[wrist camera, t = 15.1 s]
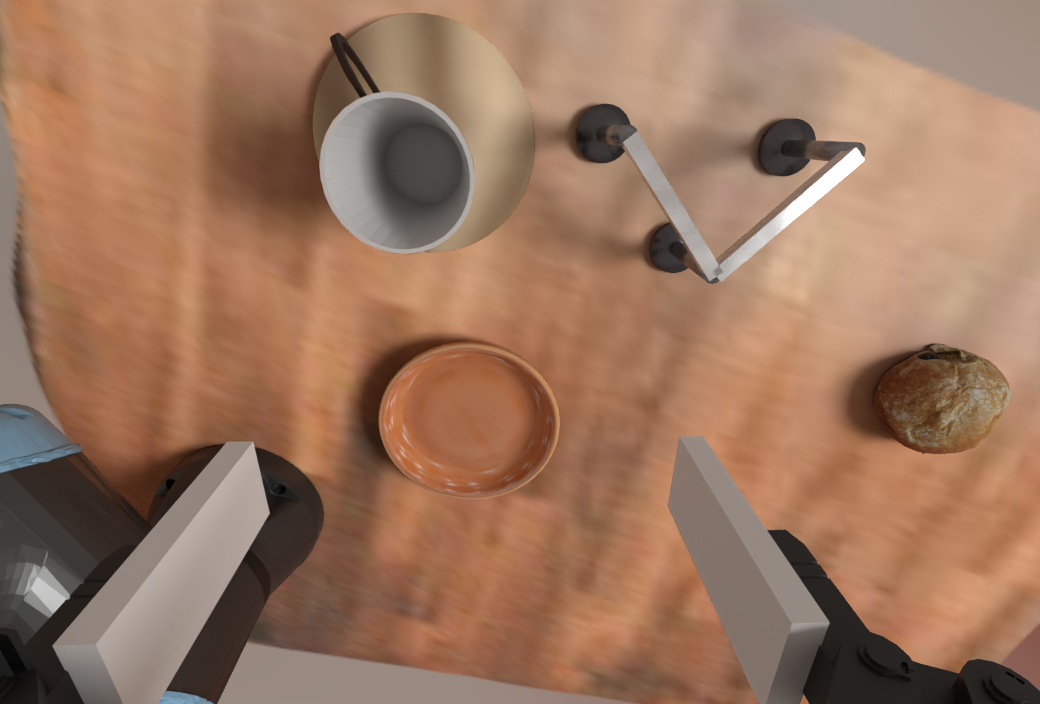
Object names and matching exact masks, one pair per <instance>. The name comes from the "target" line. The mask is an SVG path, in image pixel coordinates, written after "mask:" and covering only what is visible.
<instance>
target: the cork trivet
mask: <svg viewBox="0 0 1040 704" xmlns="http://www.w3.org/2000/svg"><path fill="white" fill-rule="evenodd" d="M347 42H348V43H349V45H350V46H351V47H352V49H353V50H354V52H355V53H356V55H357V56H358V58H359V59H360V61H361V62H362V64H363V65H364V67H365V68H366V70H367V71H368V73H369V75H370V76H371V78H372V79H373V81H374V82H375V84H376V86H377V87H378V89H379V91H380V92H386V91H391V92H404V93H407V94H411V95H414V96H417V97H420V98H422V99H424V100H426V101H428V102H430V103H432V104H433V105H435V106H436V107H438V108H439V109H440V110H441V111H442V112H444V113H445V114H446V115H447V116H448V117H449V118H450V119H451V120H452V121H453V123H454V124H455V125H456V126H457V127H458V128H459V130H460V132H461V134H462V135H463V137H464V139H465V141H466V142H467V144H468V147H469V150H470V153H471V156H472V159H473V164H474V171H475V192H474V196H473V201H472V205H471V208H470V210H469V212H468V214H467V217H466V219H465V220H464V222H463V223H462V225H461V226H460V227H459V229H458V230H457V231H456V232H455V233H454V234H453V235H452V236H451V237H450V238H449V239H448V240H447V241H445V242H443V243H442V244H440V245H438V246H437V247H435V248H432V249H429V250H427V251H424V252H445V251H452V250H456V249H460V248H463V247H466V246H469V245H471V244H473V243H476V242H478V241H479V240H481V239H483V238H484V237H486V236H488V235H489V234H491V233H492V232H493V231H494V230H496V229H497V228H498V227H499V226H500V225H501V224H502V223H503V222H504V221H505V220H506V219H507V218H508V217H509V216H510V214H511V213H512V212H513V210H514V209H515V208H516V206H517V204H518V203H519V201H520V199H521V197H522V195H523V194H524V191H525V189H526V186H527V184H528V181H529V178H530V174H531V170H532V167H533V159H534V152H535V133H534V123H533V117H532V113H531V109H530V104H529V102H528V99H527V96H526V93H525V91H524V88H523V86H522V84H521V82H520V80H519V78H518V76H517V74H516V73H515V71H514V70H513V68H512V67H511V65H510V64H509V63H508V61H507V60H506V59H505V58H504V56H503V55H502V54H501V53H500V52H499V51H498V50H497V48H496V47H494V46H493V45H492V44H491V43H490V42H489V41H488V40H486V39H485V38H484V37H483V36H481V35H480V34H478V33H477V32H475V31H474V30H472V29H471V28H469V27H467V26H465V25H463V24H461V23H459V22H457V21H454V20H451V19H448V18H445V17H442V16H437V15H431V14H425V13H407V14H400V15H394V16H390V17H387V18H384V19H381V20H378V21H376V22H374V23H372V24H370V25H368V26H366V27H364V28H362V29H361V30H360V31H358V32H357V33H355V34H354V35H353V36H351V37H350V38H349V39H348V40H347ZM345 55H346V57H347V60H348V62H349V64H350V66H351V68H352V69H353V71H354V73H355V75H356V77H357V79H358V81H359V83H360V84H361V86H362V88H363V89H364V91H365V93H366V94H367V95H369V94H372V93H373V92H372V90H371V89H370V87H369V86H368V84H367V83H366V81H365V79H364V78H363V76H362V75H361V73H360V72H359V70H358V69H357V67H356V66H355V64H354V63H353V62H352V61H351V60H350V58H349V57H348V56H347V54H346V53H345ZM359 98H360V97H359V95H358V94H357V92H356V90H355V89H354V87H353V86H352V84H351V83H350V81H349V80H348V79H347V77H346V75H345V73H344V71H343V69H342V67H341V65H340V63H339V61H338V59H337V56H336V54H335V55H334V56H333V57H332V59H331V60H330V62H329V64H328V66H327V68H326V69H325V71H324V73H323V76H322V78H321V81H320V84H319V86H318V89H317V94H316V98H315V102H314V111H313V138H314V145H315V151H316V155H317V158H318V162H320V152H321V147H322V144H323V140H324V137H325V134H326V132H327V130H328V128H329V127H330V125H331V123H332V121H333V120H334V119H335V118H336V116H337V115H338V114H339V113H340V112H341V111H342V110H343V109H344V108H345V107H346V106H348V105H349V104H351V103H352V102H354V101H355V100H357V99H359Z"/></svg>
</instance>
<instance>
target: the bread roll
mask: <svg viewBox="0 0 1040 704" xmlns="http://www.w3.org/2000/svg"><path fill="white" fill-rule="evenodd" d="M1010 398H1011V391H1010V388H1009V384H1008V382H1007V380H1006V378H1005V377H1004V375H1003V374H1002V373H1001V371H1000V370H999V369H998V368H997V367H996V366H995V365H994V364H993V363H992V362H990V361H988V360H986V359H984V358H981V357H979V356H977V355H975V354H972V353H970V352H966V351H964V350H960V349H958V348H956V349H951V348H949V347H948V346H946V345H944V344H935V345H933V346H930V347H929V349H927V350H925V351H923V352H920V353H918V354H915V355H913V356H911V357H909V358H908V359H906V360H905V361H903V362H901V363H900V364H897V365H895V366H893V367H892V368H891V369H890V370H888V371H887V372H886V373H885V374H884V375H883V377H882V378H881V380H880V381H879V383H878V385H877V388H876V391H875V394H874V398H873V405H874V408H875V410H876V413H877V414H878V417H879V418H880V420H881V422H882V424H883V425H884V426H885V428H886V430H887V431H888V432H889V433H890V434H891V435H892V436H893V438H894V439H895V440H897V441H898V442H899V443H901V444H902V445H904V446H905V447H908V448H910V449H912V450H915V451H918V452H922V453H923V454H924V453H931V454H947V453H957V452H962V451H966V450H968V449H971V448H974V447H976V446H977V445H979V443H980V442H981V441H982V439H983V438H986V437H987V436H988V435H989V434H990V433H991V430H992V426H993V425H994V424H995V423H996V422H997V421H998V419H999V418H1000V417H1001V415H1002V414H1003V412H1004V411H1005V410H1006V408H1007V407H1008V405H1009V404H1010Z"/></svg>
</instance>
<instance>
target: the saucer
mask: <svg viewBox="0 0 1040 704" xmlns="http://www.w3.org/2000/svg"><path fill="white" fill-rule="evenodd" d="M378 422H379V431H380V436H381V439H382V443H383V445H384V447H385V450H386V452H387V453H388V455H389V457H390V458H391V460H392V461H393V463H394V464H395V465H396V466H397V468H398V469H399V470H400V471H401V472H402V473H403V474H405V475H406V476H407V477H408V478H409V479H411V480H412V481H414V482H415V483H417V484H418V485H420V486H422V487H424V488H425V489H428V490H430V491H432V492H435V493H438V494H441V495H444V496H448V497H453V498H458V499H471V500H475V499H486V498H492V497H497V496H501V495H504V494H507V493H509V492H512V491H514V490H516V489H518V488H520V487H522V486H523V485H525V484H526V483H528V482H529V481H530V480H532V479H533V478H534V477H535V476H536V475H537V474H538V473H539V472H540V471H541V470H542V469H543V468H544V466H545V465H546V464H547V462H548V461H549V459H550V457H551V456H552V454H553V451H554V449H555V447H556V444H557V440H558V435H559V428H560V419H559V411H558V407H557V403H556V400H555V397H554V395H553V393H552V391H551V389H550V387H549V385H548V384H547V382H546V380H545V379H544V378H543V376H542V375H541V374H540V373H539V372H538V371H537V369H535V368H534V367H533V366H532V365H531V364H530V363H529V362H528V361H526V360H525V359H523V358H522V357H520V356H519V355H517V354H515V353H514V352H512V351H510V350H507V349H505V348H502V347H499V346H496V345H493V344H488V343H482V342H473V341H463V342H453V343H447V344H444V345H440V346H436V347H434V348H431V349H429V350H427V351H424V352H422V353H420V354H419V355H417V356H416V357H414V358H412V359H411V360H410V361H408V362H407V363H406V364H405V365H404V366H403V367H402V368H401V369H400V370H399V371H398V372H397V373H396V374H395V376H394V377H393V378H392V379H391V381H390V382H389V384H388V386H387V388H386V390H385V392H384V394H383V397H382V400H381V404H380V408H379V417H378Z"/></svg>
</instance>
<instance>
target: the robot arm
mask: <svg viewBox="0 0 1040 704" xmlns="http://www.w3.org/2000/svg"><path fill="white" fill-rule="evenodd" d="M81 450H83V449H82V447H81V446H80V445H79V444H74V443H72V442H71V441H70V440H69V439H68V438H67V437H66V436H65V435H64V434H63V433H62V432H61V431H60V430H58V429H57V428H56V427H55V426H54V425H53V424H52V423H51V422H50V421H49V420H48V419H47V418H46V417H45V416H43V415H42V414H41V413H40V412H39V411H37V410H35V409H33V408H31V407H28V406H24V405H18V404H4V405H0V704H217V703H218V701H219V699H220V697H221V695H222V693H223V691H224V689H225V686H226V684H227V682H228V680H229V678H230V676H231V674H232V672H233V670H234V667H235V666H236V664H237V661H238V659H239V657H240V655H241V653H242V651H243V649H244V647H245V645H246V643H247V641H248V639H249V637H250V635H251V632H252V630H253V628H254V626H255V624H256V622H257V620H258V618H259V616H260V614H261V612H262V609H263V607H264V605H265V603H266V601H267V600H268V598H269V596H270V595H271V594H272V593H273V592H274V591H275V590H276V589H277V588H278V587H279V586H280V585H281V584H282V583H283V582H284V581H285V580H286V579H287V578H288V577H289V576H290V574H291V573H292V572H293V571H294V570H295V569H296V568H297V567H298V566H300V565H301V564H302V563H303V562H304V561H305V560H306V558H307V557H308V556H309V554H310V553H311V551H312V550H313V548H314V545H315V543H316V541H317V539H318V537H319V534H320V532H321V530H322V526H323V521H324V511H323V505H322V502H321V499H320V496H319V494H318V492H317V490H316V489H315V487H314V485H313V484H312V483H311V481H310V480H309V479H308V478H307V477H306V476H305V475H304V474H303V473H302V472H301V471H300V470H299V469H298V468H296V467H295V466H294V465H292V464H291V463H289V462H288V461H286V460H285V459H283V458H281V457H279V456H277V455H275V454H272V453H270V452H267V451H265V450H261V449H258V448H255V447H254V443H253V442H227V443H226V444H225V445H219V446H213V447H208V448H205V449H202V450H199V451H197V452H194V453H193V454H191V455H189V456H187V457H186V458H185V459H183V460H182V461H181V462H180V463H179V464H178V465H177V466H176V467H175V468H174V469H173V470H172V471H171V472H170V473H169V474H168V475H167V476H166V478H165V479H164V480H163V481H162V483H161V484H160V486H159V488H158V490H157V492H156V494H155V497H154V499H153V502H152V504H151V507H150V510H149V512H148V515H147V517H146V520H145V519H144V518H143V517H142V516H141V515H140V514H139V513H138V512H137V511H136V510H135V509H134V508H133V507H132V506H131V505H130V504H129V502H128V501H127V500H126V499H125V498H124V497H123V496H122V495H121V494H120V493H119V492H118V491H117V490H116V489H115V488H114V487H113V485H112V484H111V483H110V482H109V481H108V480H107V479H106V478H105V477H104V476H103V475H102V474H101V473H100V472H99V470H98V469H97V468H96V467H95V466H94V465H93V464H92V463H91V462H90V460H89V459H88V458H87V457H86V456H85V455H84V454H83V453H82V452H81ZM668 508H669V510H670V512H671V514H672V516H673V519H674V521H675V523H676V525H677V527H678V529H679V532H680V534H681V536H682V538H683V540H684V542H685V545H686V547H687V549H688V551H689V553H690V556H691V558H692V560H693V562H694V564H695V566H696V569H697V571H698V573H699V575H700V577H701V579H702V582H703V584H704V586H705V588H706V590H707V593H708V595H709V597H710V599H711V601H712V603H713V606H714V608H715V610H716V612H717V614H718V616H719V619H720V621H721V623H722V625H723V627H724V629H725V632H726V634H727V636H728V638H729V640H730V643H731V645H732V647H733V649H734V651H735V653H736V656H737V658H738V660H739V662H740V664H741V666H742V669H743V671H744V673H745V675H746V677H747V680H748V682H749V684H750V686H751V688H752V690H753V693H754V695H755V697H756V699H757V701H758V703H759V704H800V702H801V699H802V697H803V694H804V695H805V697H806V698H807V700H808V702H809V704H1040V691H1039V690H1038V689H1037V688H1036V687H1034V686H1033V685H1032V684H1031V683H1030V682H1029V681H1028V680H1026V679H1025V678H1023V677H1022V676H1020V675H1019V674H1017V673H1016V672H1014V671H1013V670H1011V669H1009V668H1007V667H1004V666H1002V665H1000V664H997V663H995V662H992V661H987V660H981V659H976V660H971V661H968V662H967V663H966V664H965V665H964V666H963V668H962V670H961V671H960V673H955V672H951V671H947V670H943V669H939V668H935V667H931V666H927V665H923V664H920V663H917V662H914V661H912V660H911V658H910V657H909V656H908V655H907V654H906V653H905V652H904V651H903V650H902V649H901V648H900V647H898V646H897V645H896V644H894V643H893V642H891V641H889V640H888V639H886V638H884V637H883V636H880V635H877V634H874V633H871V632H870V631H869V630H868V629H867V628H866V626H865V625H864V624H863V622H862V621H861V620H860V618H859V617H858V616H857V614H856V613H855V612H854V610H853V609H852V608H851V606H850V605H849V604H848V602H847V601H846V600H845V598H844V597H843V596H842V594H841V593H840V592H839V590H838V589H837V588H836V586H835V585H834V583H833V582H832V581H831V579H828V578H827V574H826V573H825V571H824V570H823V569H822V567H821V566H820V565H818V564H817V561H816V559H815V558H814V557H813V555H812V554H811V553H810V551H809V550H808V549H807V547H806V546H805V545H804V544H803V543H802V542H801V541H799V540H798V539H797V538H795V537H794V536H793V535H792V534H790V533H789V532H788V531H786V530H767V529H766V528H765V527H764V525H763V524H762V522H761V521H760V519H759V518H758V516H757V515H756V513H755V512H754V510H753V509H752V507H751V506H750V504H749V503H748V502H747V500H746V499H745V497H744V496H743V494H742V493H741V491H740V490H739V488H738V487H737V485H736V484H735V482H734V481H733V479H732V478H731V476H730V475H729V474H728V472H727V471H726V469H725V468H724V466H723V465H722V463H721V462H720V460H719V459H718V457H717V456H716V454H715V453H714V451H713V450H712V449H711V447H710V446H709V444H708V443H707V441H706V440H705V438H704V437H703V436H683V437H679V441H678V447H677V453H676V459H675V465H674V472H673V478H672V484H671V490H670V496H669V502H668Z"/></svg>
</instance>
